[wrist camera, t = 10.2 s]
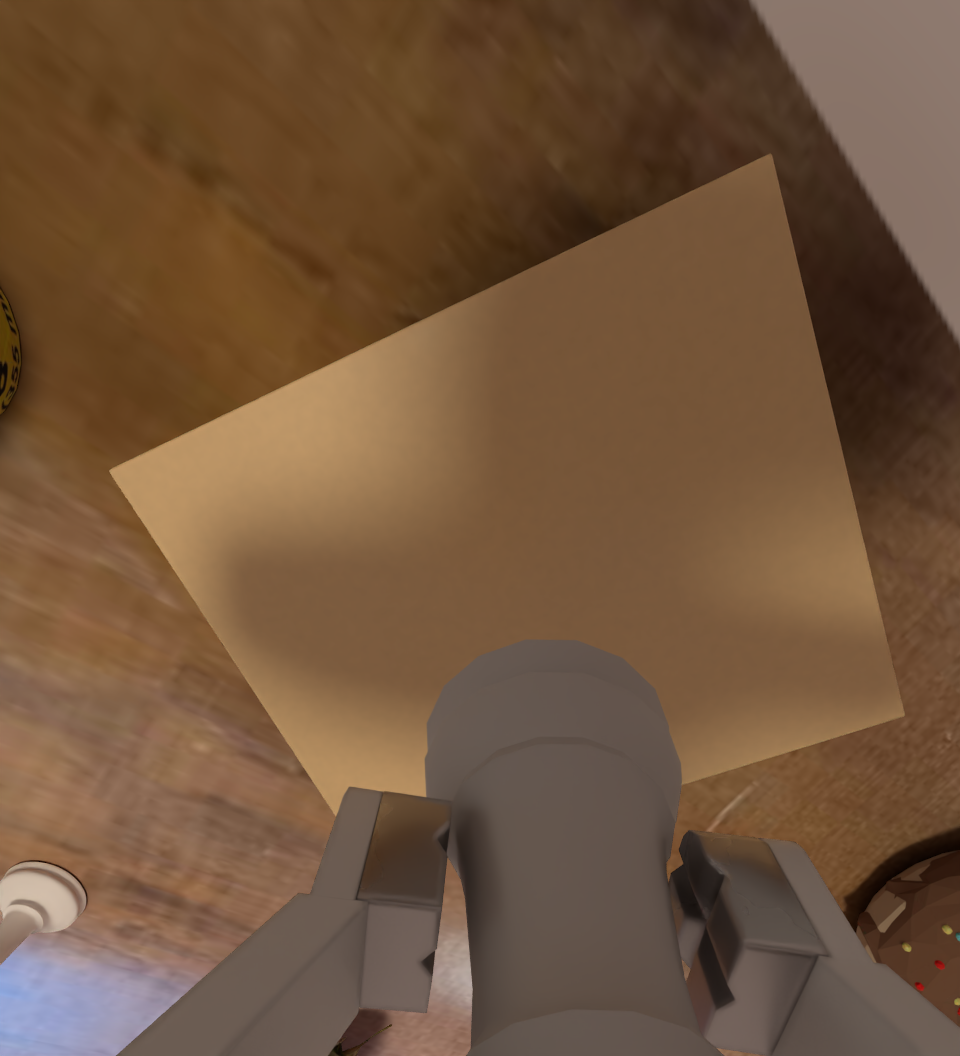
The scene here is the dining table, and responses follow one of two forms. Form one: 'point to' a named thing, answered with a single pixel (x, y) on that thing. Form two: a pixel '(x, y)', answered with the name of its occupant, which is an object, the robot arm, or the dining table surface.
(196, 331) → the dining table surface
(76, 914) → the chess piece
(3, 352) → the beverage can
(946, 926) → the donut
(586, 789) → the rook chess piece
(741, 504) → the board box
